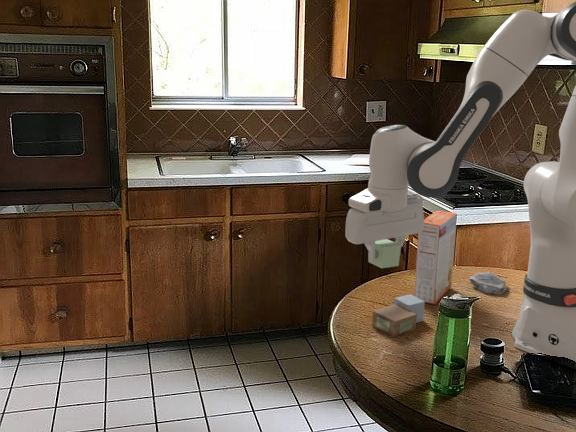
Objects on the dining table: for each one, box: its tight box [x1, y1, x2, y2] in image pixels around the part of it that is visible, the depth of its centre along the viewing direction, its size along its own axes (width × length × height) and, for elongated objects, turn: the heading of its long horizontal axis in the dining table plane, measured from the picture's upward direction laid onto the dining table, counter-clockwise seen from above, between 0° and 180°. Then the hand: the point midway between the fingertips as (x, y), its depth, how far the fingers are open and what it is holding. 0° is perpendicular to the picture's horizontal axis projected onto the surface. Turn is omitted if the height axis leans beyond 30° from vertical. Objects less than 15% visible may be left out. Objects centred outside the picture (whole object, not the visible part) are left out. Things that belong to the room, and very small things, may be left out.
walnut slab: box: [371, 303, 417, 338], centre depth 149 cm, size 7×7×4 cm
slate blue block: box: [393, 294, 426, 324], centre depth 154 cm, size 5×5×5 cm
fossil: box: [468, 271, 508, 295], centre depth 175 cm, size 11×4×10 cm
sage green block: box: [367, 239, 402, 269], centre depth 150 cm, size 5×5×5 cm
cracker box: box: [413, 210, 458, 305], centre depth 167 cm, size 14×6×21 cm, turn 149°
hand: (384, 256), depth 150 cm, fingers closed on sage green block, 5 cm apart
